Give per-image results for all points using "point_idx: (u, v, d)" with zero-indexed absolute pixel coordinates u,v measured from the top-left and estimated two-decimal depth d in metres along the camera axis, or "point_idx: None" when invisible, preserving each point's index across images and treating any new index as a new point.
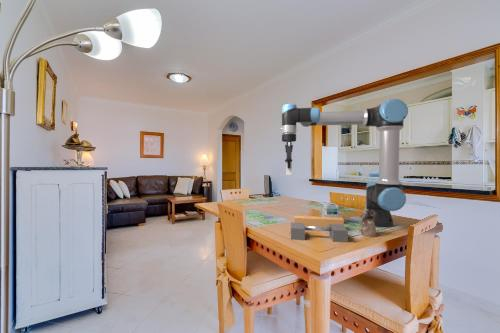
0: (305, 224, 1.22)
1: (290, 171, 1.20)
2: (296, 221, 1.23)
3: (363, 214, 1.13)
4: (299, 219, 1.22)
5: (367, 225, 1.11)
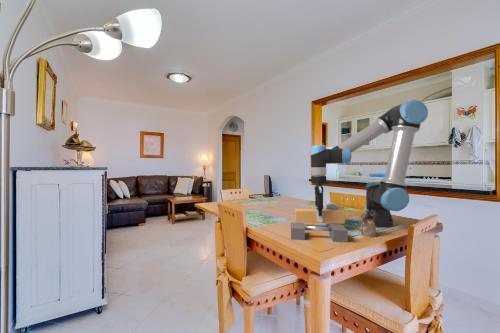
0: (306, 217, 1.21)
1: (322, 218, 1.20)
2: (297, 214, 1.22)
3: (363, 214, 1.13)
4: (300, 212, 1.22)
5: (367, 225, 1.11)
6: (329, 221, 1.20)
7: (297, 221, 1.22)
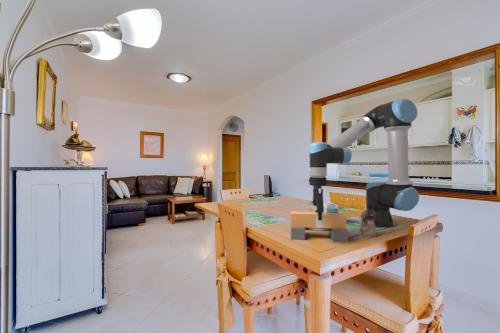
0: (303, 220, 1.08)
1: (322, 223, 1.02)
2: (292, 217, 1.09)
3: (363, 214, 1.13)
4: (296, 215, 1.08)
5: (367, 225, 1.11)
6: (328, 226, 1.06)
7: (292, 225, 1.09)
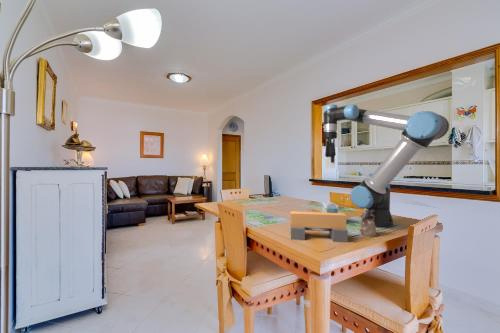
0: (303, 220, 1.08)
1: (334, 164, 1.34)
2: (292, 217, 1.09)
3: (363, 214, 1.13)
4: (296, 215, 1.08)
5: (367, 225, 1.11)
6: (328, 226, 1.06)
7: (292, 225, 1.09)
